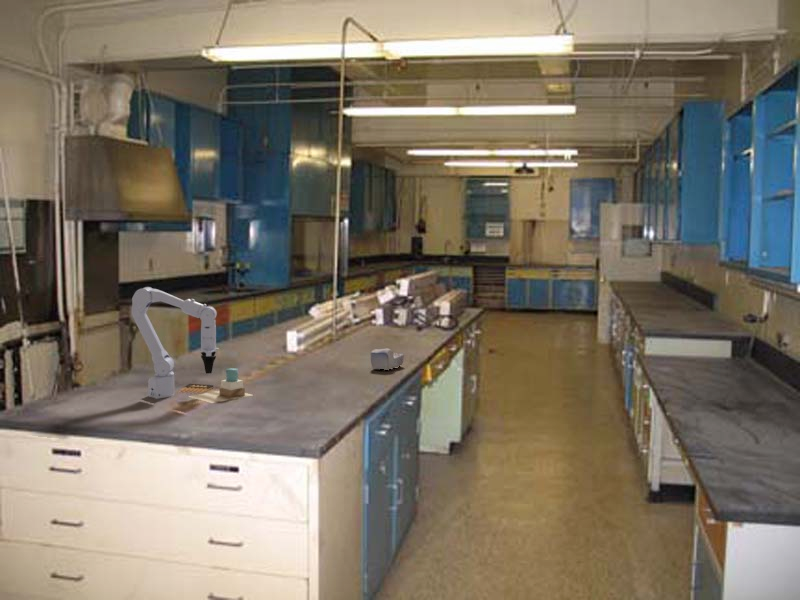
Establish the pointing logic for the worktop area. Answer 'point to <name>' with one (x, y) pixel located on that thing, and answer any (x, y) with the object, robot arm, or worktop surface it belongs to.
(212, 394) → the birch board
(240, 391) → the tower base
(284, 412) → the worktop surface
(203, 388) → the ammunition clip
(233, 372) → the teal piece
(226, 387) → the tower top
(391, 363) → the grey stepped block
